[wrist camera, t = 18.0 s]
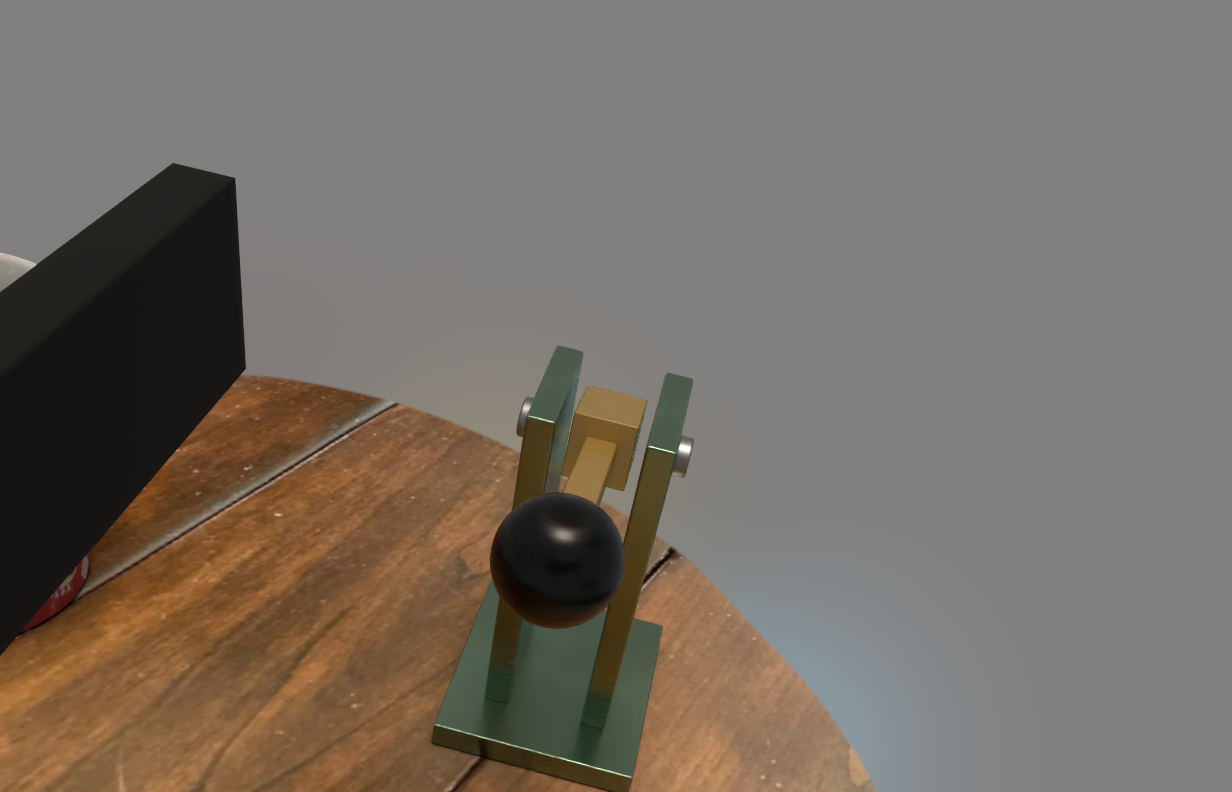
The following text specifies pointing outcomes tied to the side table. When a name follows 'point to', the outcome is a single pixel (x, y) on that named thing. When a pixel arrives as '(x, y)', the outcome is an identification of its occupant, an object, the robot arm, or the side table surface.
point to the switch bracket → (577, 656)
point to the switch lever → (571, 522)
